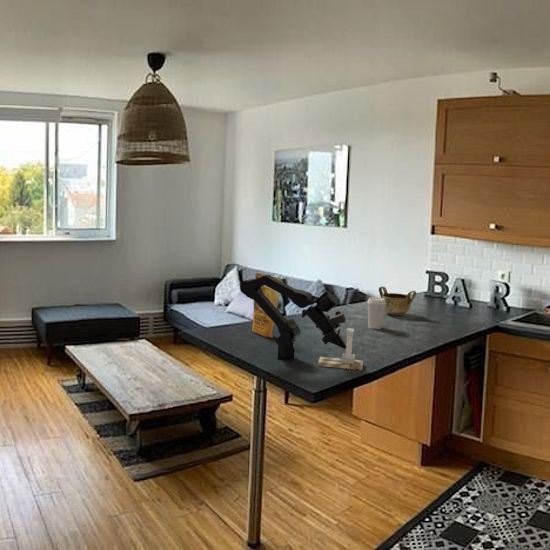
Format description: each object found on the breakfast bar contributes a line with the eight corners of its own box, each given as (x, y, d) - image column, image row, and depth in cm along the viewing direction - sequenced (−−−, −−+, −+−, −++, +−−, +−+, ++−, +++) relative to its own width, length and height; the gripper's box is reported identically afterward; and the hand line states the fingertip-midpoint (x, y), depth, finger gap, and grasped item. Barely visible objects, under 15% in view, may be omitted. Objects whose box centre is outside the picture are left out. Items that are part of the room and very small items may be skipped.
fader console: (317, 365, 242) (318, 362, 242) (320, 360, 251) (320, 356, 250) (362, 370, 240) (362, 366, 239) (363, 364, 248) (363, 360, 247)
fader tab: (341, 362, 241) (343, 331, 239) (342, 358, 248) (344, 327, 246) (353, 364, 241) (356, 333, 239) (354, 359, 247) (356, 328, 245)
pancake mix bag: (258, 328, 299) (260, 272, 295) (281, 337, 284) (284, 278, 280) (246, 330, 295) (249, 272, 291) (269, 339, 280) (272, 278, 276)
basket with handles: (419, 315, 347) (422, 289, 344) (406, 320, 333) (408, 293, 331) (384, 309, 360) (386, 284, 358) (370, 313, 347) (372, 287, 345)
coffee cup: (383, 326, 317) (385, 297, 314) (384, 330, 307) (387, 301, 305) (364, 324, 318) (366, 296, 315) (365, 329, 308) (367, 299, 306)
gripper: (332, 310, 233) (359, 341, 233) (336, 301, 251) (362, 330, 251) (311, 328, 236) (338, 359, 235) (316, 318, 254) (341, 346, 253)
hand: (345, 348), depth 244 cm, fingers closed, pressing on fader tab
